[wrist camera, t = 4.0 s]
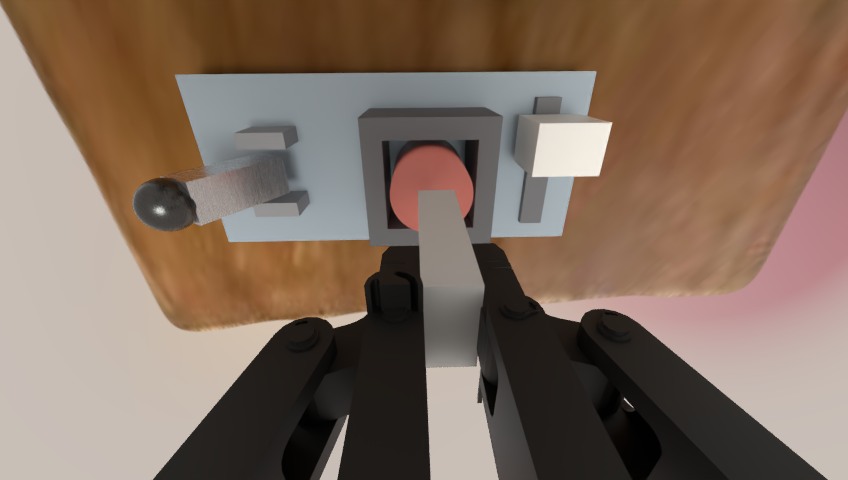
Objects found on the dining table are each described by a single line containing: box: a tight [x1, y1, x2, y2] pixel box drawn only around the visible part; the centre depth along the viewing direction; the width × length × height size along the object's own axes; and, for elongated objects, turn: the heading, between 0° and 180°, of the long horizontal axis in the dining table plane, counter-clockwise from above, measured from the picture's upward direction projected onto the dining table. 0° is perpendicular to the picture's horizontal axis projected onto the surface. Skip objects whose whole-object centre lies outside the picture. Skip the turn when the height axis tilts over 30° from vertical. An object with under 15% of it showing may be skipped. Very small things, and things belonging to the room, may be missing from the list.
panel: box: [175, 71, 597, 246], centre depth 23 cm, size 12×27×8 cm, turn 90°
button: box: [390, 140, 473, 232], centre depth 20 cm, size 5×5×6 cm
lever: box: [132, 154, 290, 231], centre depth 19 cm, size 3×3×8 cm
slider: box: [514, 114, 612, 177], centre depth 20 cm, size 3×4×4 cm
